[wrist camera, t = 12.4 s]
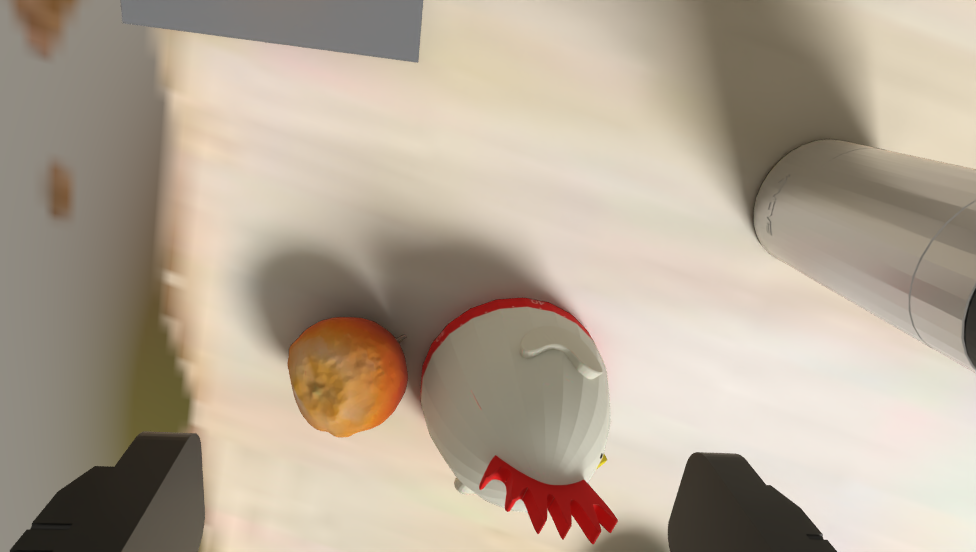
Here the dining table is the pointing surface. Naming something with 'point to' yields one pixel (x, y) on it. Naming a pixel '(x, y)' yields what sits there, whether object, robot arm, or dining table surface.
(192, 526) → the robot arm
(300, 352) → the fruit
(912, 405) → the dining table surface
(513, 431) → the kitchen timer
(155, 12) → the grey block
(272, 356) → the dining table surface
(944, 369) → the dining table surface
